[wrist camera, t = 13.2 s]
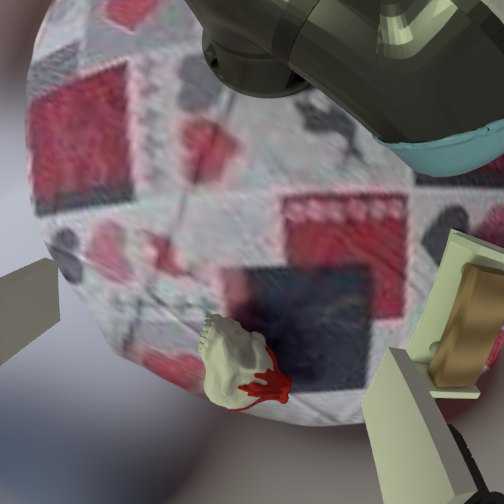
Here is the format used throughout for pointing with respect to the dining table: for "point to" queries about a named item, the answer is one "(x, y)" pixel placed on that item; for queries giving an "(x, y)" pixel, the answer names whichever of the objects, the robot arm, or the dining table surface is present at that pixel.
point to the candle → (239, 366)
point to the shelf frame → (448, 305)
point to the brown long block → (470, 327)
